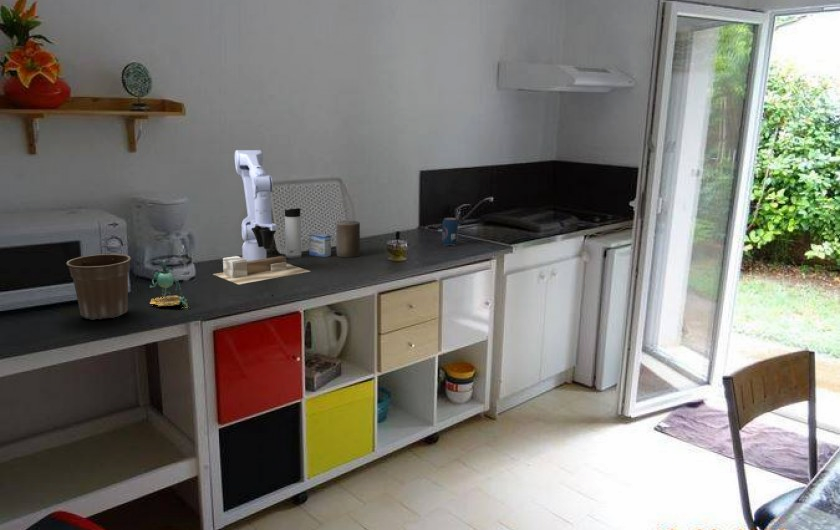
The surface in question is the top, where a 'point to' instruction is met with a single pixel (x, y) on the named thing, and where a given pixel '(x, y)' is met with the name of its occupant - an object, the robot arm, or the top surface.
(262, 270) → the slat
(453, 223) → the soda can
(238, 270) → the slat board
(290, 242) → the travel mug
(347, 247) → the pillar candle
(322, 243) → the medicine box
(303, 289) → the top surface
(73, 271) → the plant pot
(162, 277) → the frog figurine
